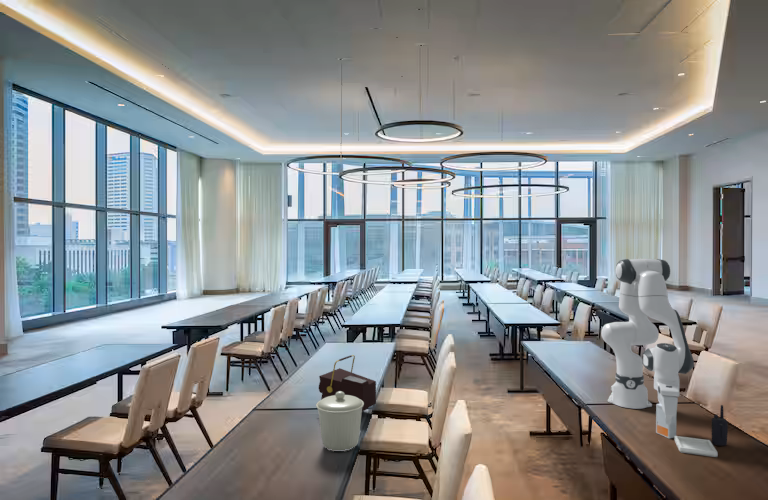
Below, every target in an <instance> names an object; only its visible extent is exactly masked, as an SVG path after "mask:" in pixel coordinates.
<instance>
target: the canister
mask: <svg viewBox="0 0 768 500" xmlns="http://www.w3.org/2000/svg"><path fill="white" fill-rule="evenodd" d="M363 406H364V402H363V401H362V400H361V399H359V398H357V397H355V396H351V395H345V394H344V392H342V391H338V392H337V393H336V394H335V395H333V396H328V397H326V398H323V399H322V400H321V399H320V400H319V401H317V403H316V404H315V407H316V408H317V411H318V412H317V413H318V421H319V429H320V435H321V441H322V445H323V447H324V446H325V447H326V448H328V449H332V450H345V449H350V448H352V447H354V448H356V447H357V445H358V443H359V440H360V431H361V423H362V422H361V421H362V414H363V412H362V407H363ZM355 446H356V447H355ZM325 447H324V448H325ZM326 448H325V449H326ZM328 449H327V450H328Z"/></svg>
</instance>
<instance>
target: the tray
mask: <svg viewBox="0 0 768 500" xmlns="http://www.w3.org/2000/svg"><path fill="white" fill-rule="evenodd" d="M673 439H674V443H675V444H676V447H677V449H678V451H679V453H682V454H690V455H698V456H703V457H704V456H705V457H713V458H718V455H719V454H718V451H717V449H716V447H715V446H714V444H713V443H712V440H711V439H702V438H697V437H696V438H695V437H687V436H678V435H676V436H674V438H673Z"/></svg>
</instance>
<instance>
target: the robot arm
mask: <svg viewBox="0 0 768 500" xmlns="http://www.w3.org/2000/svg"><path fill="white" fill-rule="evenodd" d="M615 276H616V278H617V279H618V280H619V281H620V288H619V296H618V297H619V298H618V309H619V310H620V311H621V313H623V314H625V315H627V316H628V321H613V322H609V323H605V324H604V325H603V327H602V329H601V330H600V333H601V338H602V340H603V341H604V342H605V343H606V344H607V345H609V347H610V348H611V349H612V351H613V353H614V356H615V360H616V361H615V363H616V372H615V375H614V377H615V382H614V383H613V384H612V385H611V386H610V391H612V392H610V393H611V394H610V395H609V397H608V399H607V402H608V403H609V404H613V405H616V406H618V407H622V408H626V409H634V410H635V409H637V410H641V409H645V408H652V407H653V403H651V402H650V401H649V400H648V399H649V398H648V397H649V395H648V393H649V391H648V388H647V387H646V386H645V383H644V382H645V377H644V373H643V370H644V367H645V368H646V369H647V370H648V371H650V372H654V375H653V389H654V390H655V391H657V400H658V404H659V403H660V404H661V406H662V409H663V412H664V414H665V422H666V424H669V425H670V424H671V419H672V416H673V417H675V416H676V417H677V412H678V400H679V399H678V397H680V395H681V394H680V376H679V374H683V375H687V374H688V373H689V372H690V371H692V369H694V366H695V361H694V357H693V355H692V352H691V350H690V349H691V348H689V343H688V340H687V336H686V334H685V329H684V326H683V325H684V324H683V322H682V319H681V316H680V314H679V312H678V311H677V310H676V309H674V308H673V307H672V305H671V304H670V301H669V295H668V288H667V284H666V281H667V280H668V279H669V278H670V276H671V266H670V265H669V262H668V261H666V260H664V259H661V258H657V259H655V258H643V257H642V258H631V259H628V258H625V259H621V260H619V261H618V262H617V263H616V266H615ZM649 318H650V319H652V320H656V321H658V322H660V323H662V324H664V325H665V326H667V327H668V328H669V330H670V333H671V337H672V340H673V344H674V345H673V344H671V343H666V342H661V343H657V344H656V345H655V346H654V347H651V348H647V349H645V350H644V351H643V352H642V356H640V355H639V354H637V353H635V352H633V351H632V346H647V345H652V344H655V343H656V342H657V341H658V339H659V335H660V334H659V329H658V328H657V326H656V325H655V324H654V323H653V322H652V321H651V320H650V319H649Z"/></svg>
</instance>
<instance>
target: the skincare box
mask: <svg viewBox="0 0 768 500" xmlns="http://www.w3.org/2000/svg"><path fill="white" fill-rule="evenodd" d="M655 406H656V408H655V409H656V411H655V416H656V417H655V433H656V434H658V435H660V436H662V437H665V438H667V439H669V440H670V439H674V436H677V415H676V416H675V417H673V416H672V419H671V424H670V425H669V424H666V422H665V414H664V412H663V409H662V406H661V404H660V403H659V402H658V403H656V405H655Z"/></svg>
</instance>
